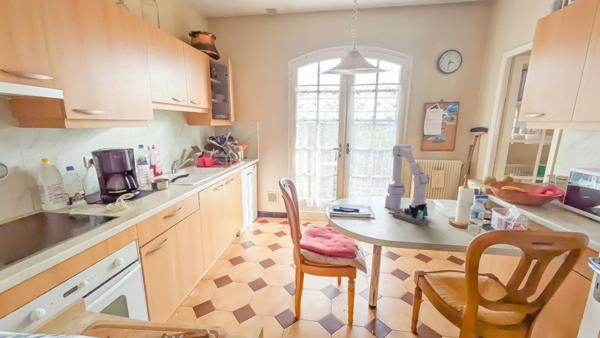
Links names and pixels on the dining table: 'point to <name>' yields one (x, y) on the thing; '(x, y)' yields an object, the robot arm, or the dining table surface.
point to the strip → (408, 218)
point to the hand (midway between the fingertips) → (416, 215)
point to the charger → (418, 216)
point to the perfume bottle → (410, 211)
